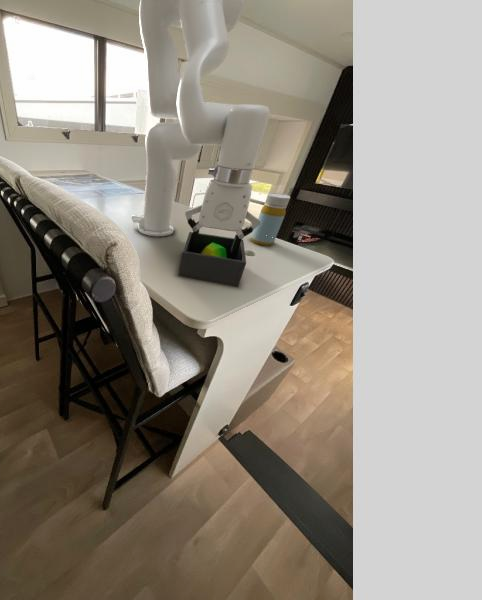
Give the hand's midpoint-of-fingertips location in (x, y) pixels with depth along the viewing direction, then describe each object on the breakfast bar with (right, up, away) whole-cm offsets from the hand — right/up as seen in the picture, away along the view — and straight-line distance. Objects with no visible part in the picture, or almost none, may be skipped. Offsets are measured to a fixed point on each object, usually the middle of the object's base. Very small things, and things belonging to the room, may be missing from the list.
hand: (213, 248), depth 65 cm
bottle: (+23, +6, +20) cm, 31 cm away
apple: (0, -4, +3) cm, 5 cm away
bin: (0, -5, +3) cm, 6 cm away
